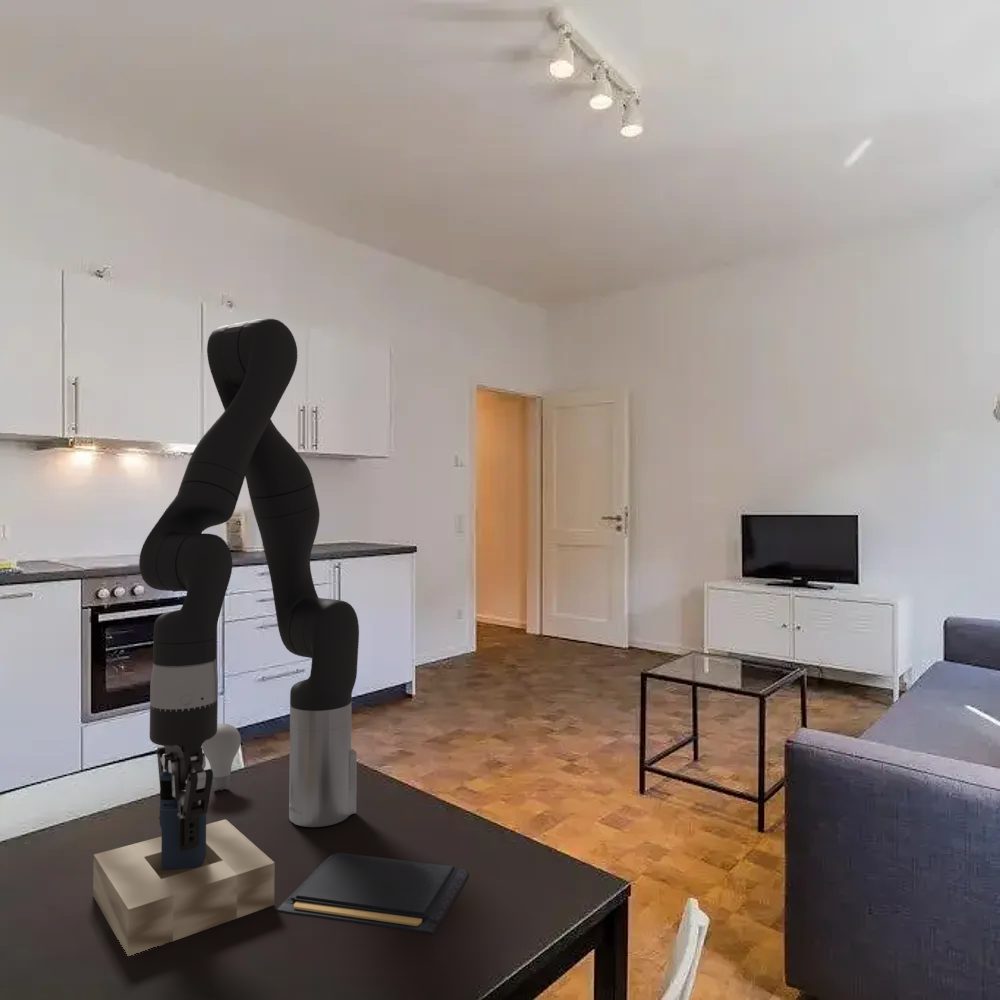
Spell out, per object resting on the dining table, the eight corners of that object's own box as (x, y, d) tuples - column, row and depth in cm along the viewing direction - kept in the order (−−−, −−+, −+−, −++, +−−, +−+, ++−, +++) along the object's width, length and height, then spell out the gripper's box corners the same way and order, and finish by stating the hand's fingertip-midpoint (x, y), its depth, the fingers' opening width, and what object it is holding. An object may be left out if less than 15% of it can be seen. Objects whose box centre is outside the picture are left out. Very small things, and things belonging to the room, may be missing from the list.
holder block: (225, 856, 100) (225, 819, 100) (274, 904, 88) (274, 862, 88) (93, 896, 90) (93, 854, 90) (127, 957, 77) (128, 909, 77)
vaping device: (162, 862, 89) (162, 762, 90) (208, 858, 90) (208, 759, 91) (156, 872, 87) (156, 769, 87) (203, 868, 88) (203, 766, 88)
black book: (472, 862, 96) (431, 926, 81) (472, 877, 96) (431, 943, 81) (333, 843, 101) (271, 900, 86) (333, 857, 101) (271, 916, 86)
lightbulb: (227, 798, 120) (227, 730, 120) (193, 795, 121) (194, 728, 121) (247, 784, 126) (248, 720, 126) (215, 782, 127) (215, 717, 127)
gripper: (237, 705, 86) (235, 854, 86) (197, 683, 97) (195, 815, 97) (169, 716, 81) (167, 874, 81) (135, 692, 92) (133, 830, 92)
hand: (182, 841), depth 89 cm, fingers closed on vaping device, 3 cm apart
